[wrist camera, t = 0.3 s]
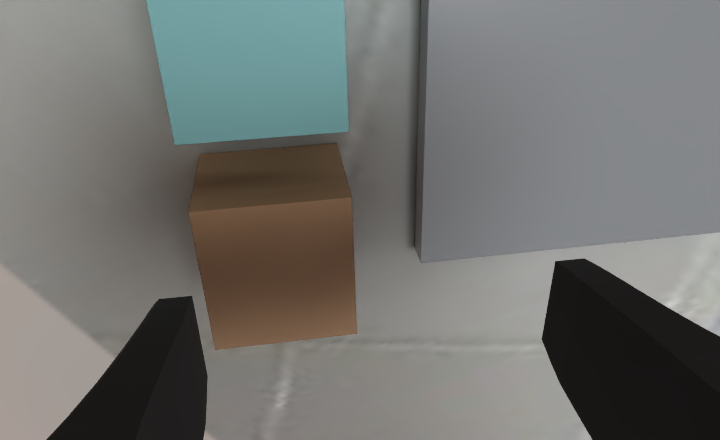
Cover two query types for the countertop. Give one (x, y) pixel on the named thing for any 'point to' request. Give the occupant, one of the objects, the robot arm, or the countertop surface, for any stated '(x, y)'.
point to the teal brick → (251, 67)
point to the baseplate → (565, 124)
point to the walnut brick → (275, 244)
